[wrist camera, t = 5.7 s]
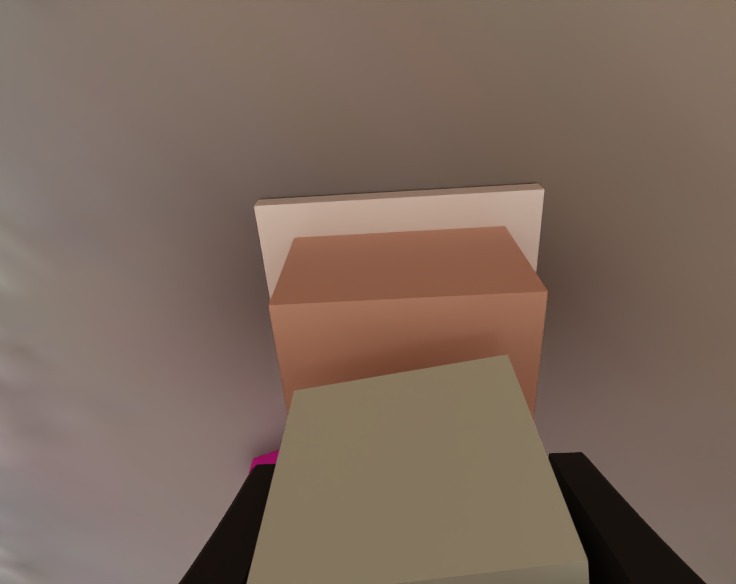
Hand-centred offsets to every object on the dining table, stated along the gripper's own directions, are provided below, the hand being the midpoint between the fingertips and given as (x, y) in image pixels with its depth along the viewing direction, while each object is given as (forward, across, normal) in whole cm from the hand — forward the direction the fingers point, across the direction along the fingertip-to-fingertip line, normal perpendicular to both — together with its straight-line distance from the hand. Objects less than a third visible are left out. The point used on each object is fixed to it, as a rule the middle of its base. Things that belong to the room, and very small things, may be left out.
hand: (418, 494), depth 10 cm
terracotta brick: (+7, 0, 0) cm, 7 cm away
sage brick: (+2, 0, 0) cm, 2 cm away
